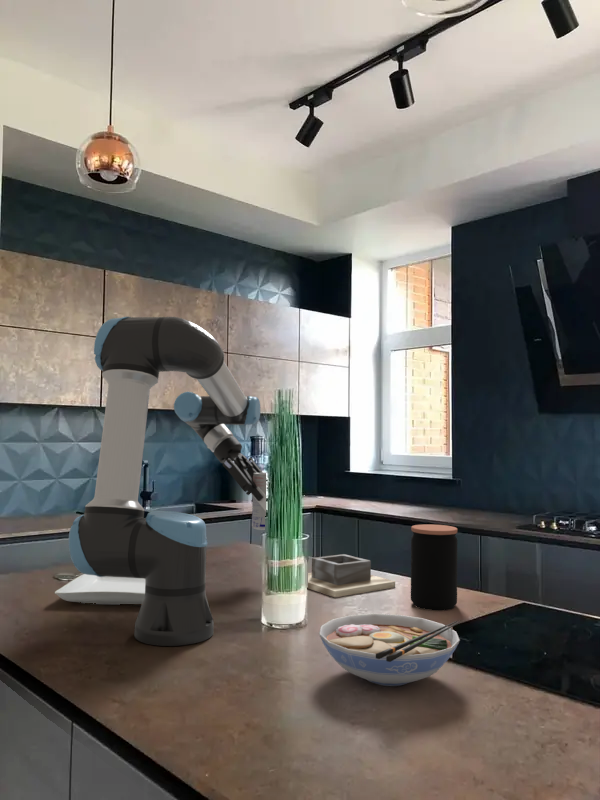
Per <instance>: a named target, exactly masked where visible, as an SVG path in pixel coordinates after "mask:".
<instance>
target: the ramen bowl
mask: <svg viewBox="0 0 600 800" xmlns="http://www.w3.org/2000/svg"><path fill="white" fill-rule="evenodd" d="M460 623H461V621H453V622H451V623H449V624H446V625H445V624H443V623H441V622H436V621H434V620H429V619H426V618H422V617H417V616H410V615H403V614H402V615H401V614H389V613H365V614H364V613H363V614H351V615H346V616H341V617H337V618H333V619H330V620H328V621H327V622H324V623H323V624H322V625H320V627H319V628H320V629H319V630H318V631H319V632H318V635H319V637H320V640H321V642H322V644H323V645H324V647H325V648H326V651H327V652H328V654H329V655H330V656H331V658H332V659H333V660H334V661H335V662H336V663H337V664H338V665H339V666H341V668H342V669H344V670H345V671H347V672H348V673H349V674H352V675H354V676H356V677H359V678H361V679H364V680H367V681H368V682H370V683H372V684H375V685H377V686H384V687H397V686H398V687H401V686H404V685H406V684H409V683H412V682H413V683H414V682H416V681H420V680H423V679H425V678H428V677H431V676H433V675H434V674H436V673H437V672H438V671H439V670H440V669H441V668H442V667H443V666H444V665H445V664H446V663H447V661H448V660H449V659H450V658H451V656H452V655H453V653H454V652H455V651H456V649H457V647H458V645H459V643H460V641H461V639H460V637H459V635H458V633H457V631H455V630H454V629H452V628H453V627H454V626H458V624H460Z"/></svg>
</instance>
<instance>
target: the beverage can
mask: <svg viewBox="0 0 600 800" xmlns="http://www.w3.org/2000/svg"><path fill="white" fill-rule="evenodd" d="M266 473H267V472H263V473H261V472H260V473H253V474H254V475H253V481H254V483H255V484H256V486H257V487H259V488H260V489H261V490H262V491H263V492H264V493H265V494H266ZM257 487H256V488H257ZM251 502H252V503H251V504H252V506H251V510H252V511H251V527H252V529H254V530H257V531H266V530H265V516H266V511H265V510H264V509H263V508H262V506H261V505H260V504H259V503H258V501H257V500H256V499H255V498H254V496H253V495H252V501H251Z"/></svg>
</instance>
